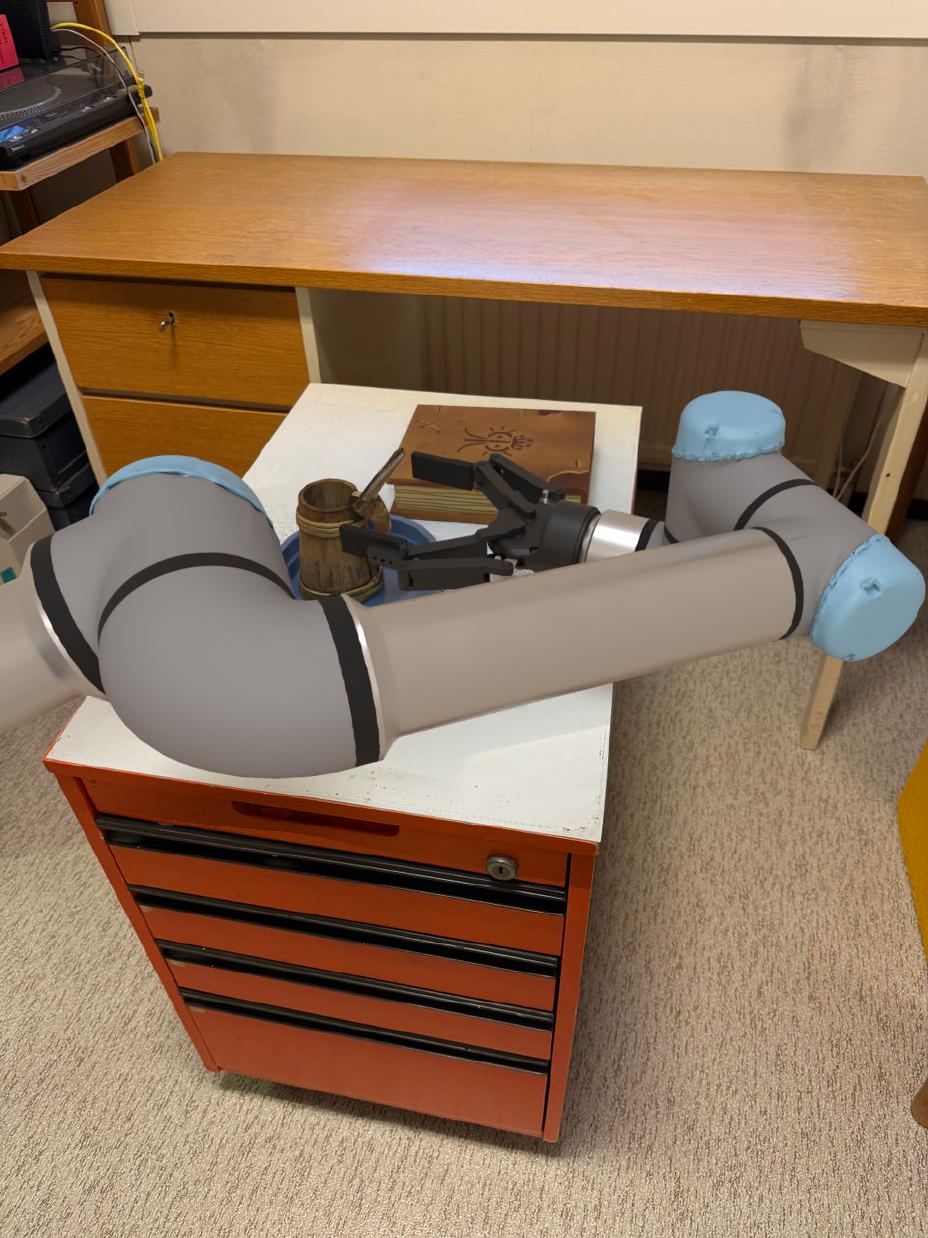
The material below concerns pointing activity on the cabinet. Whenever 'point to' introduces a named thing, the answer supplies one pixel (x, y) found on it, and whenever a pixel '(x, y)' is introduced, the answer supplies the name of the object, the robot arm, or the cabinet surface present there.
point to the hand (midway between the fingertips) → (379, 498)
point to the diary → (471, 434)
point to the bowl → (390, 584)
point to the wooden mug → (320, 537)
